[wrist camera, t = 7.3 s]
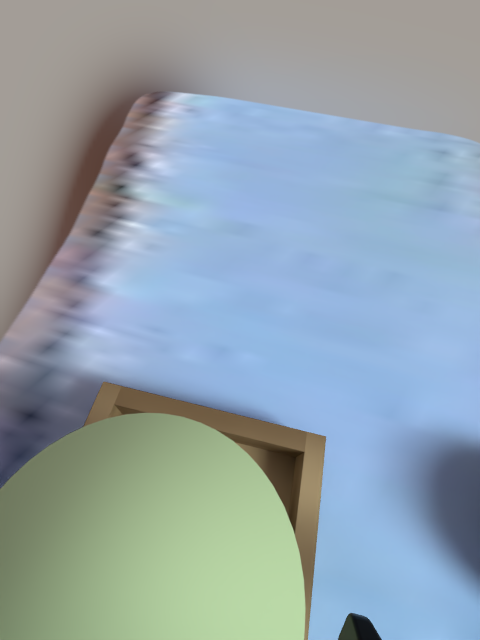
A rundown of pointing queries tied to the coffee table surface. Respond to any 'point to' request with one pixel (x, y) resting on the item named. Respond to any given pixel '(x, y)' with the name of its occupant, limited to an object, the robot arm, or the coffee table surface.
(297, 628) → the green rounded tapered cylinder
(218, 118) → the coffee table surface
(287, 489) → the tray
